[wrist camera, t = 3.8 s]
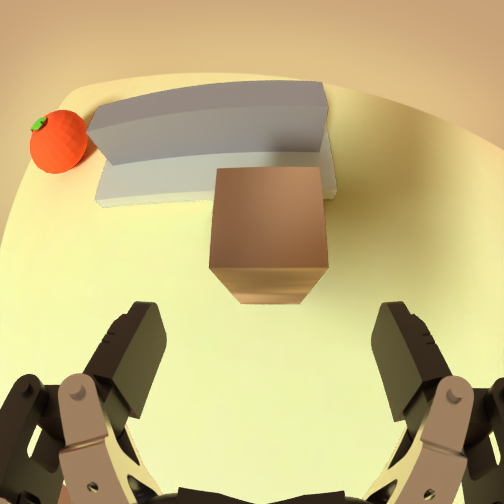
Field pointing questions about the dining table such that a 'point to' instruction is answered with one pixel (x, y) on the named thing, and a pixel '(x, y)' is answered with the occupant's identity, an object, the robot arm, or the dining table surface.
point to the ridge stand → (208, 138)
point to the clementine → (58, 141)
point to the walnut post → (268, 233)
